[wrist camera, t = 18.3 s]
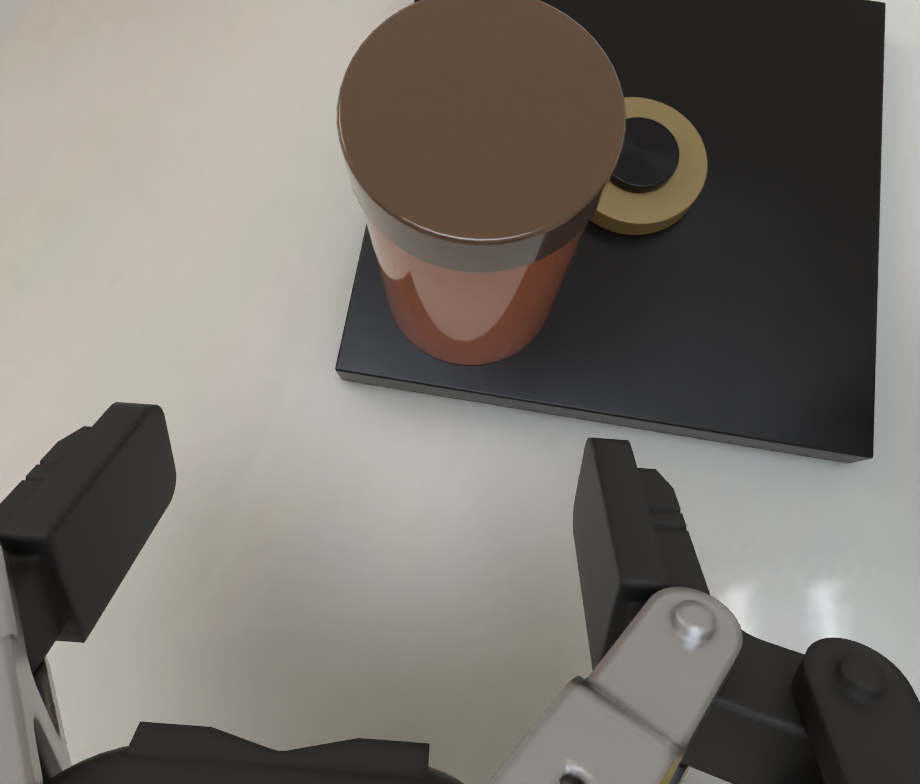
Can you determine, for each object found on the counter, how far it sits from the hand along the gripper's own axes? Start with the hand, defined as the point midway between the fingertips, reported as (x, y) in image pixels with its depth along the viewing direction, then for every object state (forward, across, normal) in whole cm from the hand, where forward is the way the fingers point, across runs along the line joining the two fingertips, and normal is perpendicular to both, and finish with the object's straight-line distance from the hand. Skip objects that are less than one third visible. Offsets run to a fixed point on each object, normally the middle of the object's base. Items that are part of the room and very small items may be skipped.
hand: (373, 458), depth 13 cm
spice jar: (+9, -2, 0) cm, 9 cm away
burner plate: (+13, -6, -2) cm, 15 cm away
